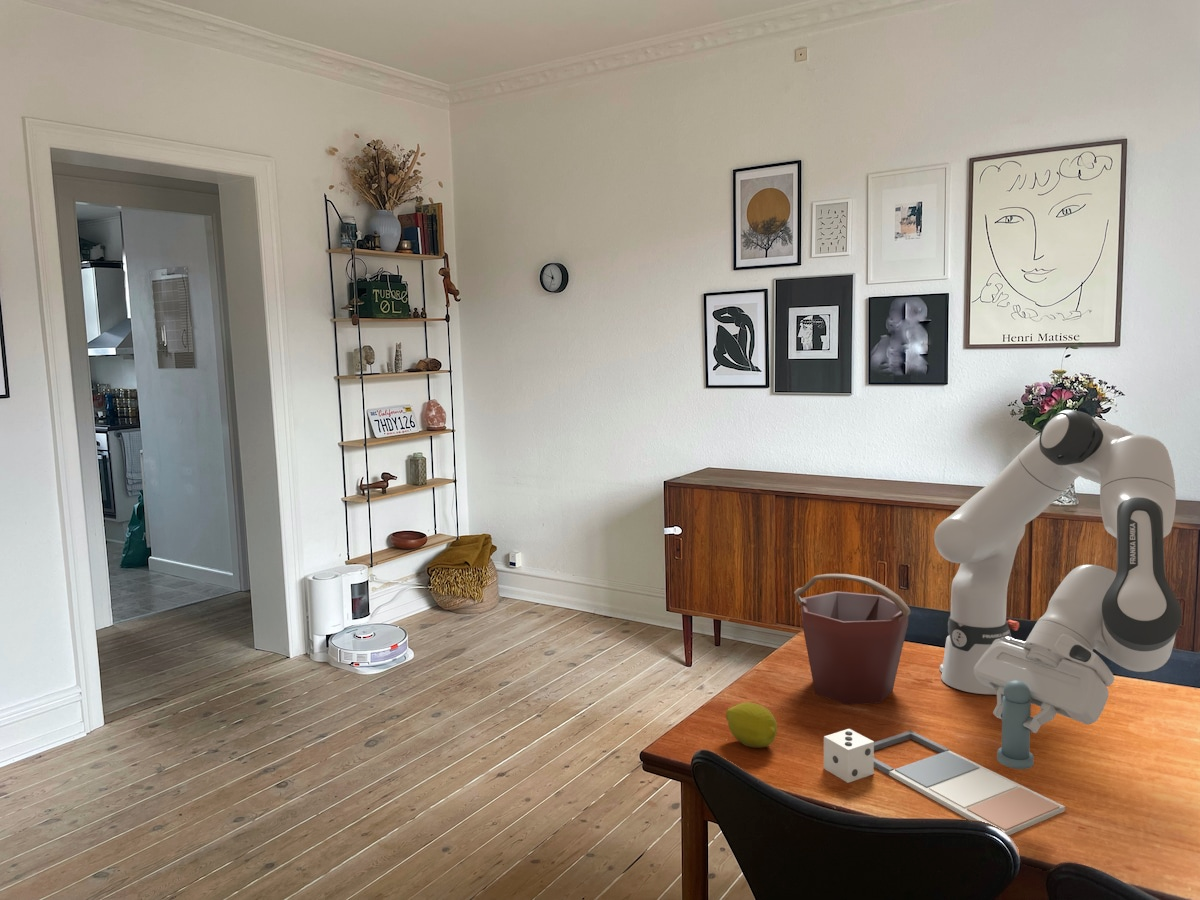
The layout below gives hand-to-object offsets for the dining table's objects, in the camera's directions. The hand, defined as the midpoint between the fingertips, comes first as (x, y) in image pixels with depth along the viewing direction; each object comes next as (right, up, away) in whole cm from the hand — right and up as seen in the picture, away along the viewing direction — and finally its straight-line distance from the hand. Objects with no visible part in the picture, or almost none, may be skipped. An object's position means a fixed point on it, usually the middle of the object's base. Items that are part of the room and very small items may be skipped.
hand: (1013, 723), depth 137 cm
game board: (-4, -14, +12) cm, 19 cm away
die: (-21, -14, +17) cm, 31 cm away
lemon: (-36, -13, +28) cm, 48 cm away
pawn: (+1, -6, +1) cm, 6 cm away
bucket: (-10, -9, +53) cm, 55 cm away
